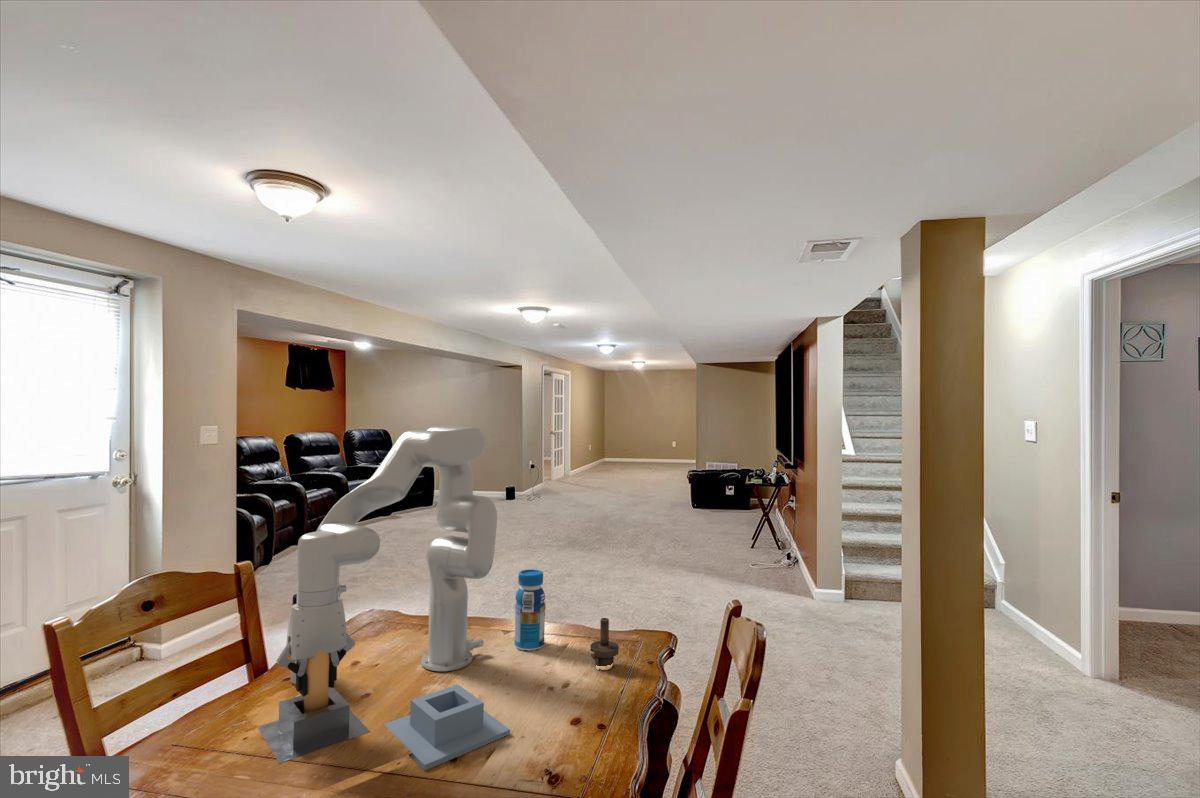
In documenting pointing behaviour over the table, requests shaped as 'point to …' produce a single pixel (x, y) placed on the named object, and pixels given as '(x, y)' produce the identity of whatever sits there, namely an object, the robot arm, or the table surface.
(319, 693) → the lock pin
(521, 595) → the beverage bottle
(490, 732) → the socket block
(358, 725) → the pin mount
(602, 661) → the industrial component
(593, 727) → the table surface
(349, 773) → the table surface
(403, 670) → the table surface
